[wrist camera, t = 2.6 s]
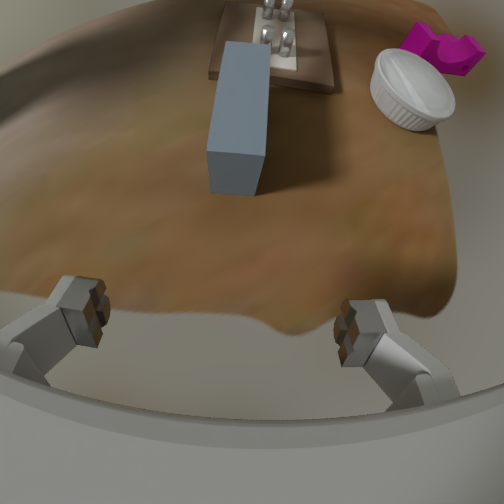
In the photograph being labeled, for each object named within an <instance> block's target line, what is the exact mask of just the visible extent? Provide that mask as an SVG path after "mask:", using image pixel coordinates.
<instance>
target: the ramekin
mask: <svg viewBox="0 0 504 504" xmlns="http://www.w3.org/2000/svg"><path fill="white" fill-rule="evenodd" d="M370 90H371V95H372V97H373V100H374V102H375V104H376V105H377V107H378V108H379V110H380V111H381V112H382V113H383V114H384V115H385V116H386V117H387V118H388V119H389V120H390V121H392V122H393V123H395V124H396V125H398V126H400V127H402V128H404V129H407V130H412V131H424V130H427V129H429V128H431V127H433V126H434V125H436V124H438V123H439V122H442V121H445V120H447V119H448V118H449V117H450V116H451V115H452V114H453V112H454V111H455V98H454V95H453V92H452V90H451V88H450V86H449V85H448V83H447V81H446V80H445V79H444V78H443V76H442V75H441V74H440V73H439V71H438V70H437V69H436V68H435V67H434V66H433V65H431V64H430V63H429V62H427V61H426V60H424V59H423V58H421V57H419V56H417V55H416V54H413V53H411V52H409V51H406V50H402V49H386V50H384V51H382V52H381V53H380V54H379V55H378V57H377V58H376V61H375V69H374V72H373V75H372V79H371V83H370Z"/></svg>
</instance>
